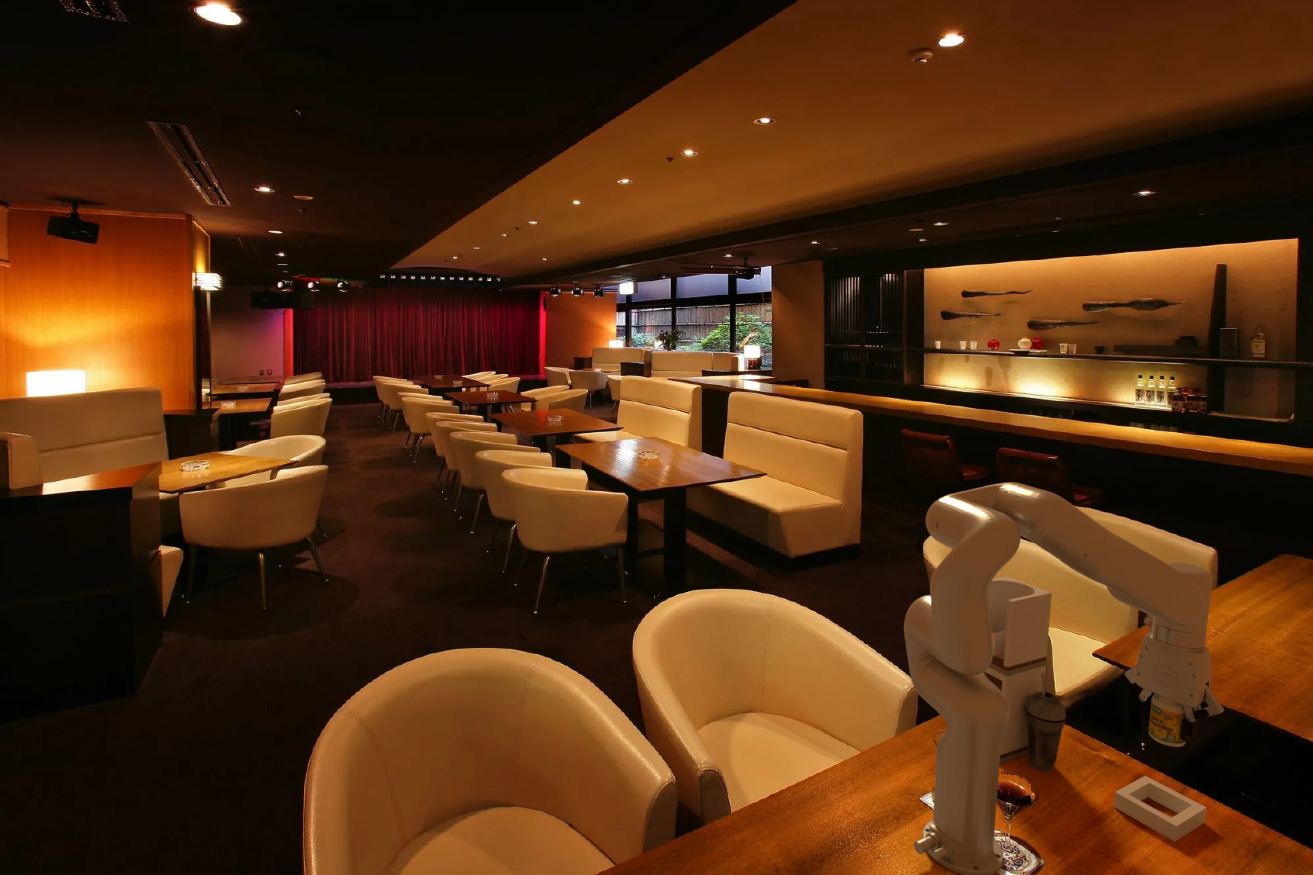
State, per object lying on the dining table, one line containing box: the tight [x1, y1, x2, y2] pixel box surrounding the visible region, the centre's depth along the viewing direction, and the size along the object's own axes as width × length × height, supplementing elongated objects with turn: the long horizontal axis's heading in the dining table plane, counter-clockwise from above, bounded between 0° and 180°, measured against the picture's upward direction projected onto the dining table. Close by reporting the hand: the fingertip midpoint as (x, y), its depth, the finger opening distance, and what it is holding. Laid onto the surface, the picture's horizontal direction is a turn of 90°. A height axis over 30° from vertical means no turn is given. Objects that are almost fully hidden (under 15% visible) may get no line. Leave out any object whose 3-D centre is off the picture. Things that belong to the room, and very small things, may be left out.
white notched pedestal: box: [981, 576, 1053, 765], centre depth 142 cm, size 11×11×35 cm
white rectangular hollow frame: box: [1113, 775, 1207, 843], centre depth 122 cm, size 10×10×3 cm
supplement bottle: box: [1148, 694, 1187, 748], centre depth 120 cm, size 5×5×10 cm
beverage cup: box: [1025, 673, 1067, 773], centre depth 135 cm, size 7×7×20 cm
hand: (1167, 728), depth 120 cm, fingers closed on supplement bottle, 5 cm apart
